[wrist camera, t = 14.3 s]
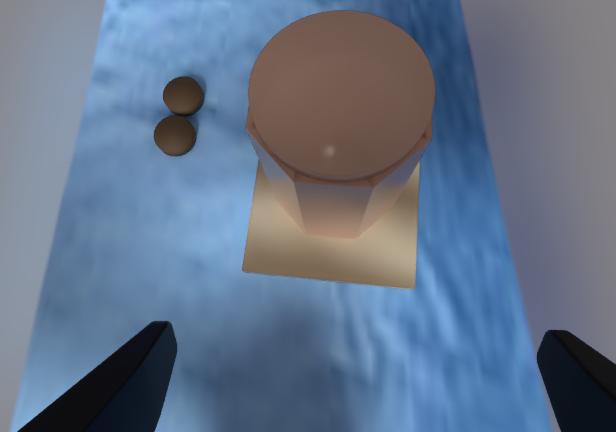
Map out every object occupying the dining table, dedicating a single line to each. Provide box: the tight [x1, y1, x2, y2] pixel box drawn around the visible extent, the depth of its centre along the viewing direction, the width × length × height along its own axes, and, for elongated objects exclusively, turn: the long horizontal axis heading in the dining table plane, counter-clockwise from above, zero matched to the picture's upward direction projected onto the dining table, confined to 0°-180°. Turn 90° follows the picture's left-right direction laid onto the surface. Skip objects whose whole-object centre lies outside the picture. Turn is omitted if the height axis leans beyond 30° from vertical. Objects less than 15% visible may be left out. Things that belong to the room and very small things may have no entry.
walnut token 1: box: [163, 77, 204, 116], centre depth 27 cm, size 3×3×1 cm
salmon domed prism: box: [246, 10, 435, 239], centre depth 19 cm, size 7×7×10 cm
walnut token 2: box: [154, 116, 196, 156], centre depth 26 cm, size 3×3×1 cm
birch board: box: [242, 161, 420, 290], centre depth 24 cm, size 12×10×1 cm
